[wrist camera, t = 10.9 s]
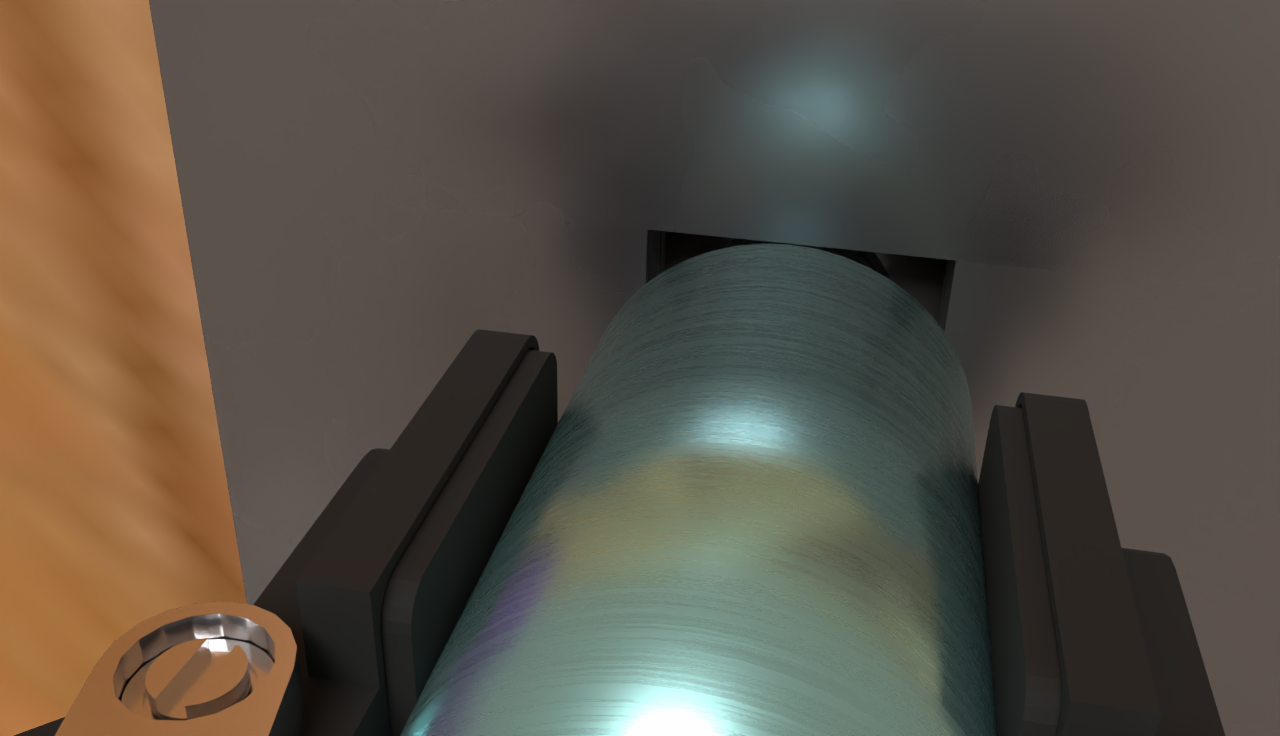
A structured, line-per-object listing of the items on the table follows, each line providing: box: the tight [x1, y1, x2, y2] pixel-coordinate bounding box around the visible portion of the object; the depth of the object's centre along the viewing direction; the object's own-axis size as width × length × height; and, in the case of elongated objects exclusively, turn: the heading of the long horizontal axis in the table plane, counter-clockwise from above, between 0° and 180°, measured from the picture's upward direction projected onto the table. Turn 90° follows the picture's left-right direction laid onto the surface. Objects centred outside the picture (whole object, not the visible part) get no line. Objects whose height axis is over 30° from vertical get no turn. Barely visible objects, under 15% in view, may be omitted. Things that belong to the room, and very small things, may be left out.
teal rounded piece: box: [400, 231, 997, 736], centre depth 12 cm, size 5×5×12 cm
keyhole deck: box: [149, 0, 1280, 736], centre depth 17 cm, size 20×14×4 cm
